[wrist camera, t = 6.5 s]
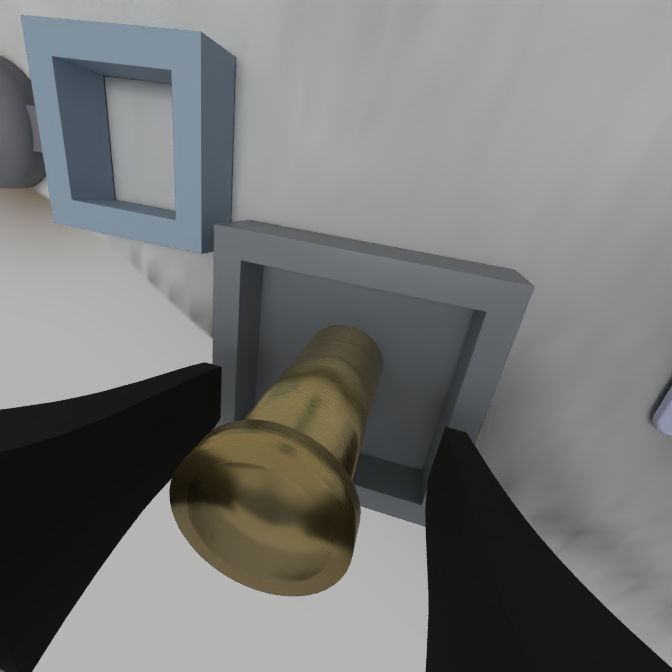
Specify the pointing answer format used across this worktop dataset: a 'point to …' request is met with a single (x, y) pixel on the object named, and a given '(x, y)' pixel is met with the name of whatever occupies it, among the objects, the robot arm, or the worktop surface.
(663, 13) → the worktop surface
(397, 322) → the tray
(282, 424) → the pin
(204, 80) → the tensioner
